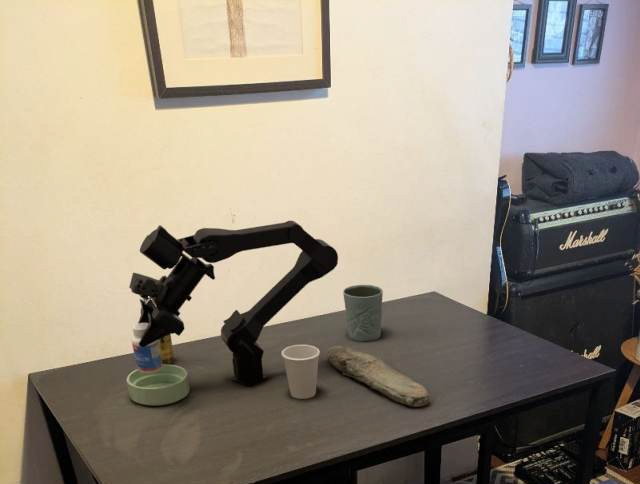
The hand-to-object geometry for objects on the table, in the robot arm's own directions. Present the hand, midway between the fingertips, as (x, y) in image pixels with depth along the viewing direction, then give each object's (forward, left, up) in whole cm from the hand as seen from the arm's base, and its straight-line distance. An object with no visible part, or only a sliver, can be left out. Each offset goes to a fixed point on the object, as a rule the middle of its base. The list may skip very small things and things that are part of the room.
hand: (138, 341), depth 164 cm
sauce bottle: (+13, -14, -13) cm, 23 cm away
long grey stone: (-35, -37, -13) cm, 53 cm away
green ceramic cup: (-15, -58, -13) cm, 62 cm away
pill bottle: (-1, -1, -7) cm, 7 cm away
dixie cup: (-26, -22, -13) cm, 37 cm away
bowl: (-1, -2, -13) cm, 13 cm away
